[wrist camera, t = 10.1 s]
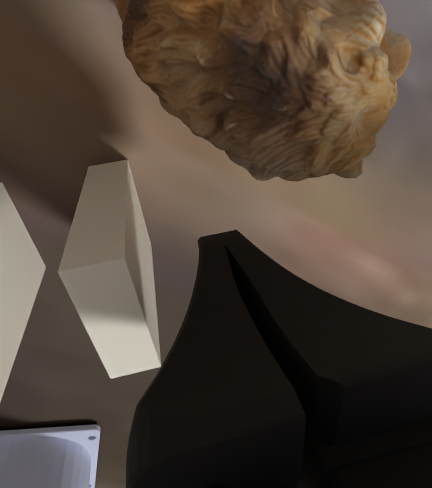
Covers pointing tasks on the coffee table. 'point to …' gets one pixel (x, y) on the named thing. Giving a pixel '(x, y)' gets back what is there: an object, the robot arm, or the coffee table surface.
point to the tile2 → (15, 282)
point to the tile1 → (113, 271)
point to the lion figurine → (272, 77)
